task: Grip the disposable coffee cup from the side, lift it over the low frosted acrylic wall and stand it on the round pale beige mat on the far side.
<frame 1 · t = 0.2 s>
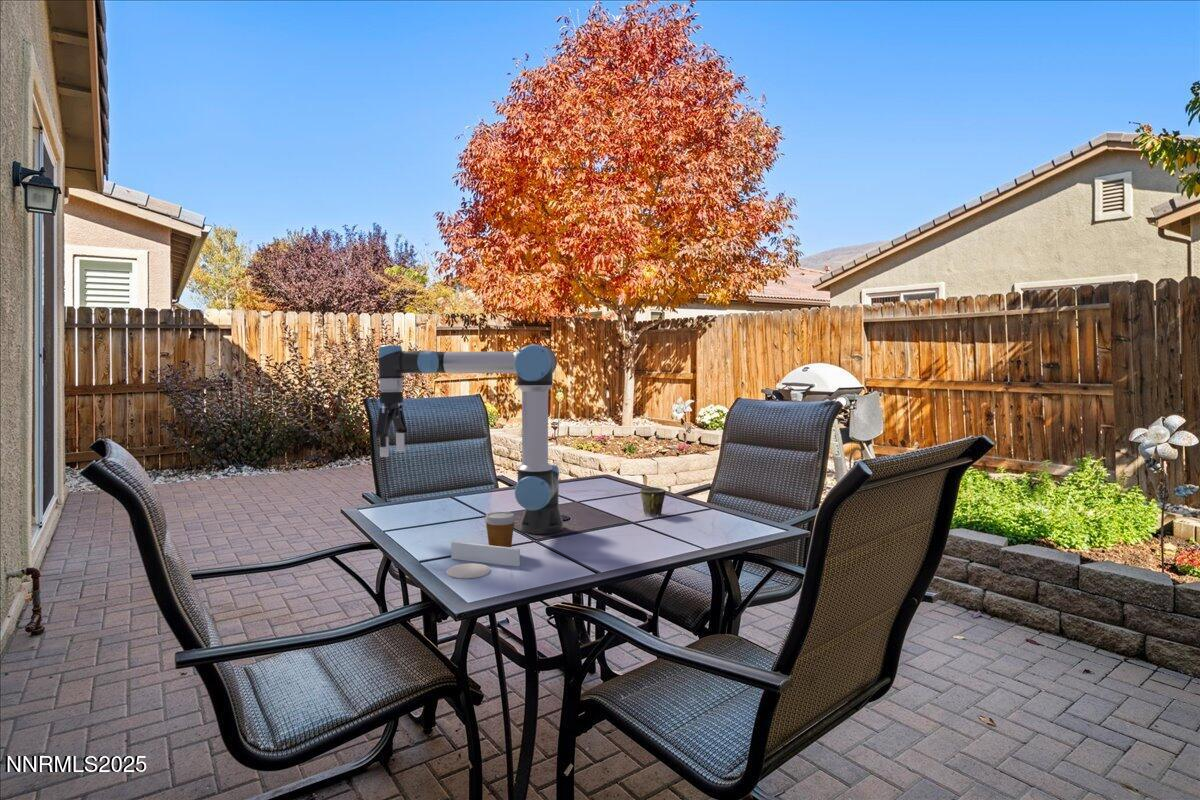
hand: (392, 454, 220), 28 cm above the table, fingers open, 13 cm apart
disposable coffee cup: (500, 554, 201), on the table
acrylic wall: (485, 562, 192), on the table
ceramic cup: (652, 516, 253), on the table
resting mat: (468, 571, 183), on the table
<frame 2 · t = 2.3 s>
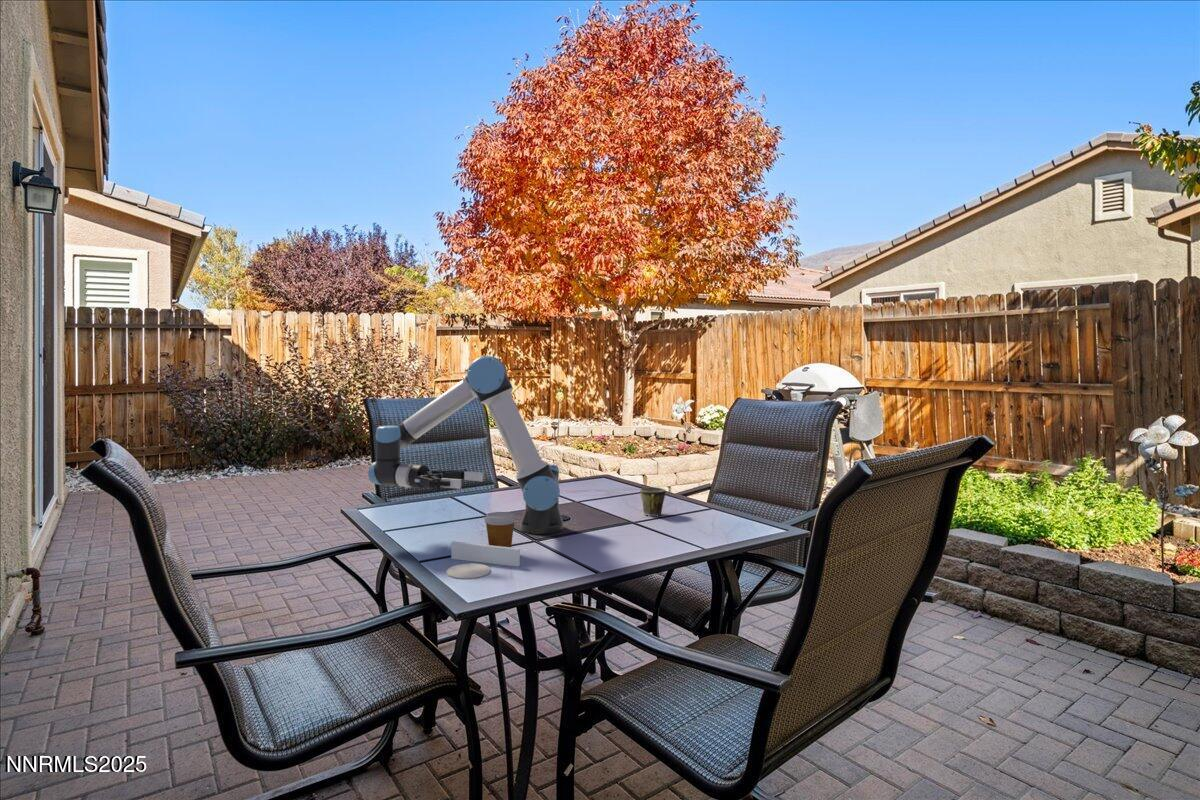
hand: (472, 480, 203), 22 cm above the table, fingers open, 13 cm apart
nothing on the table moved.
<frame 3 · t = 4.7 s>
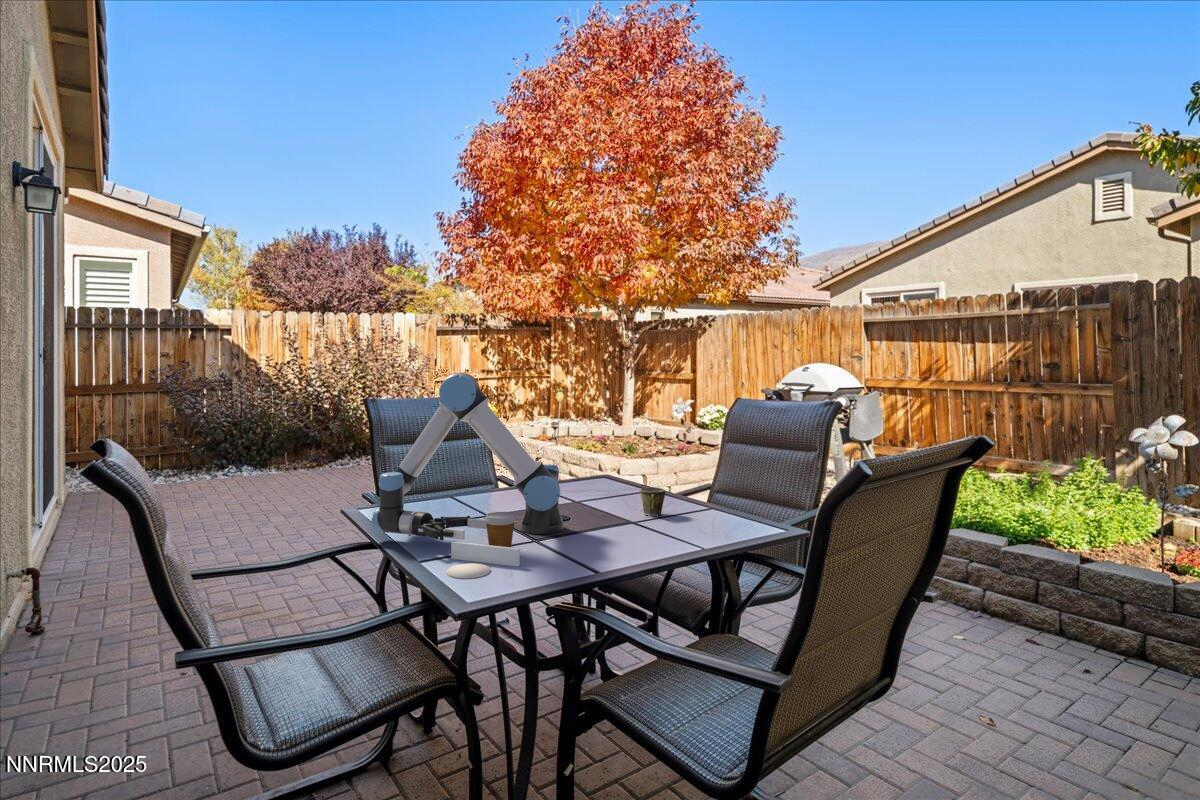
hand: (475, 529, 204), 7 cm above the table, fingers open, 13 cm apart
nothing on the table moved.
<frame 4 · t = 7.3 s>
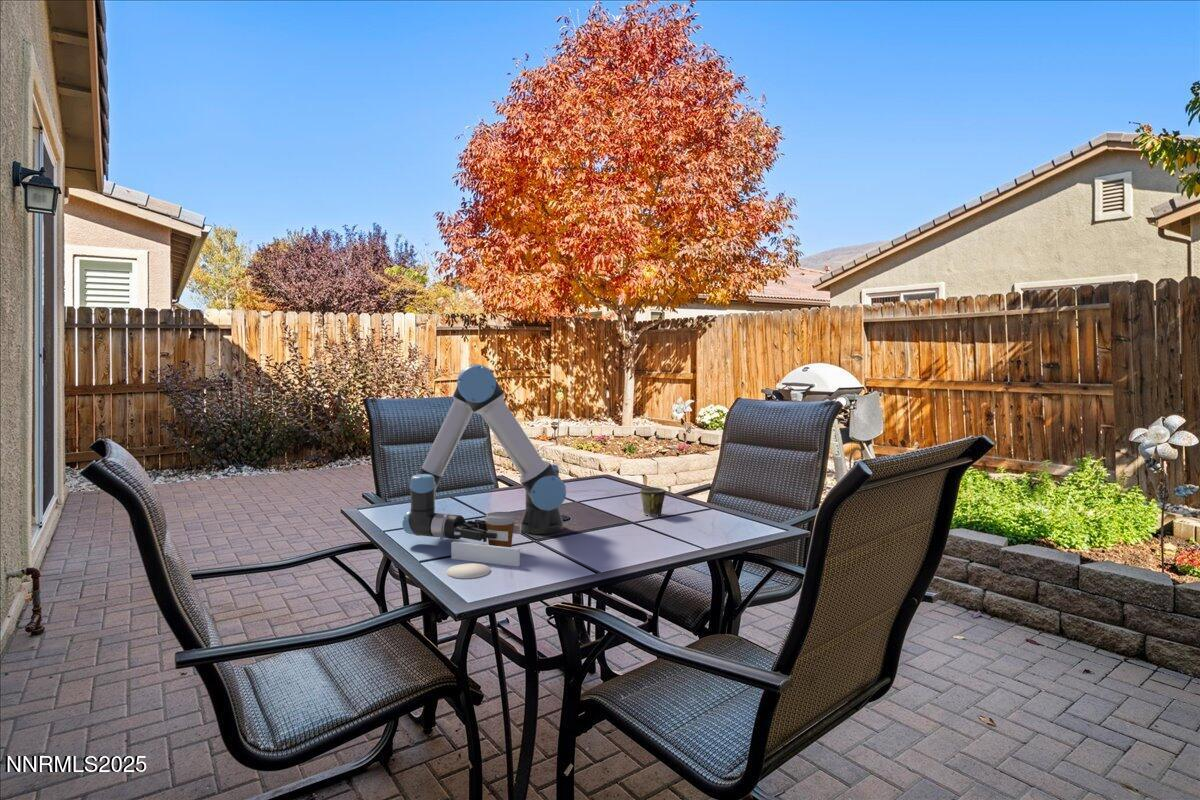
hand: (514, 532, 200), 7 cm above the table, fingers closed on disposable coffee cup, 8 cm apart
disposable coffee cup: (500, 553, 201), on the table, touching gripper
everything else where it was.
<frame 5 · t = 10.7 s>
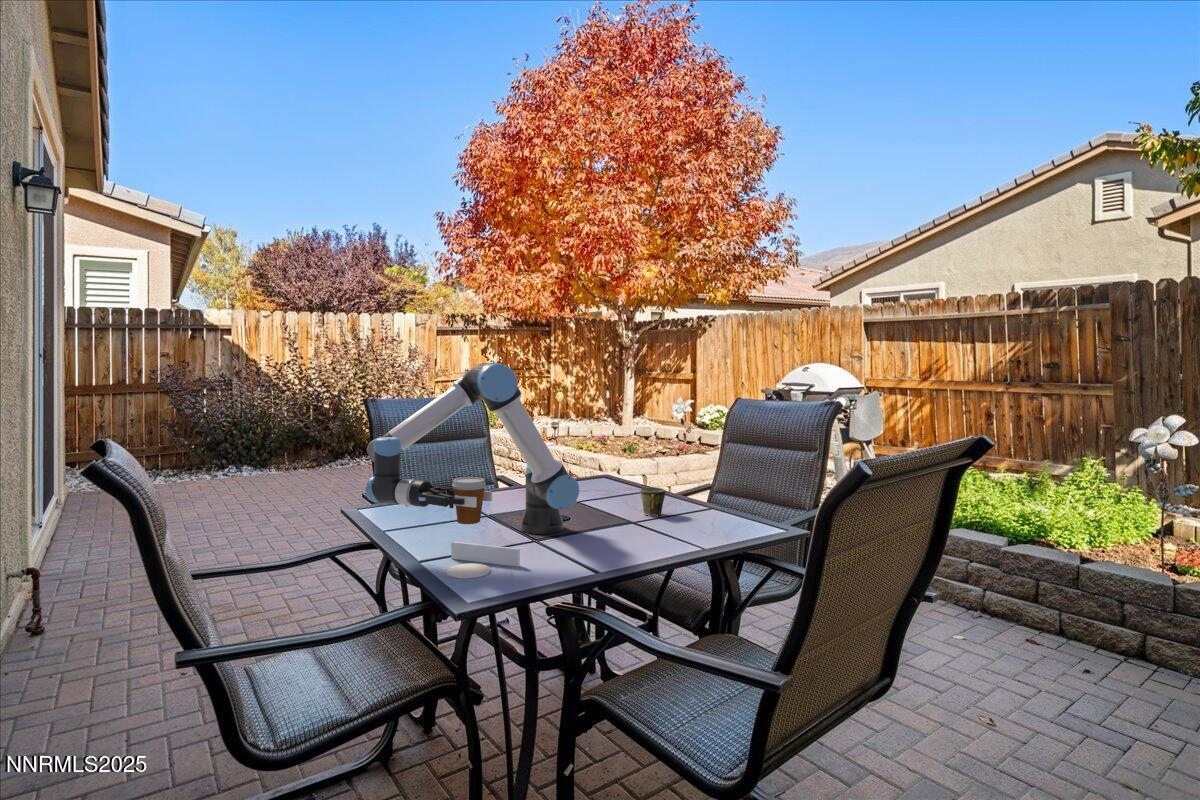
hand: (483, 499, 183), 20 cm above the table, fingers closed on disposable coffee cup, 8 cm apart
disposable coffee cup: (468, 522, 185), point 13 cm above the table, touching gripper
everything else where it was.
when the fingers open (9 cm above the table, at t = 14.2 s): disposable coffee cup drops 1 cm, resting on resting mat.
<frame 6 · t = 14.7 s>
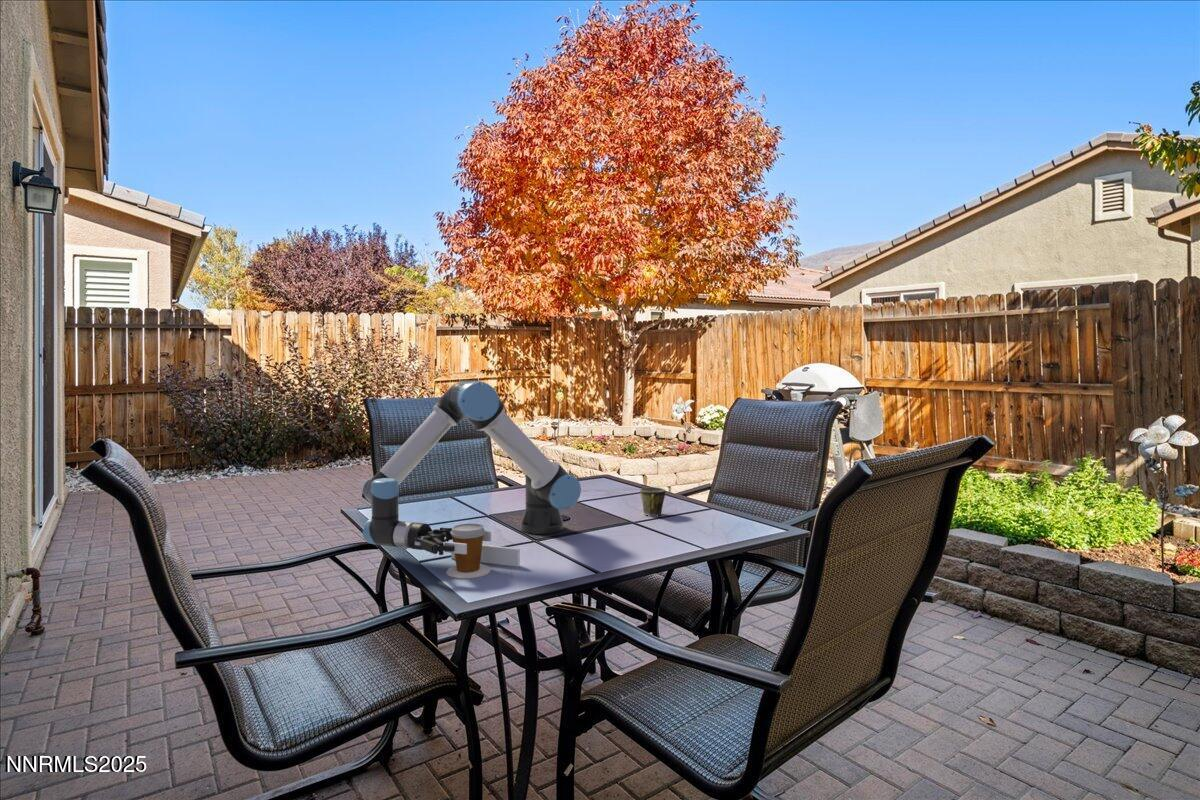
hand: (478, 542, 182), 9 cm above the table, fingers open, 13 cm apart
disposable coffee cup: (468, 569, 184), resting on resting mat
everything else where it was.
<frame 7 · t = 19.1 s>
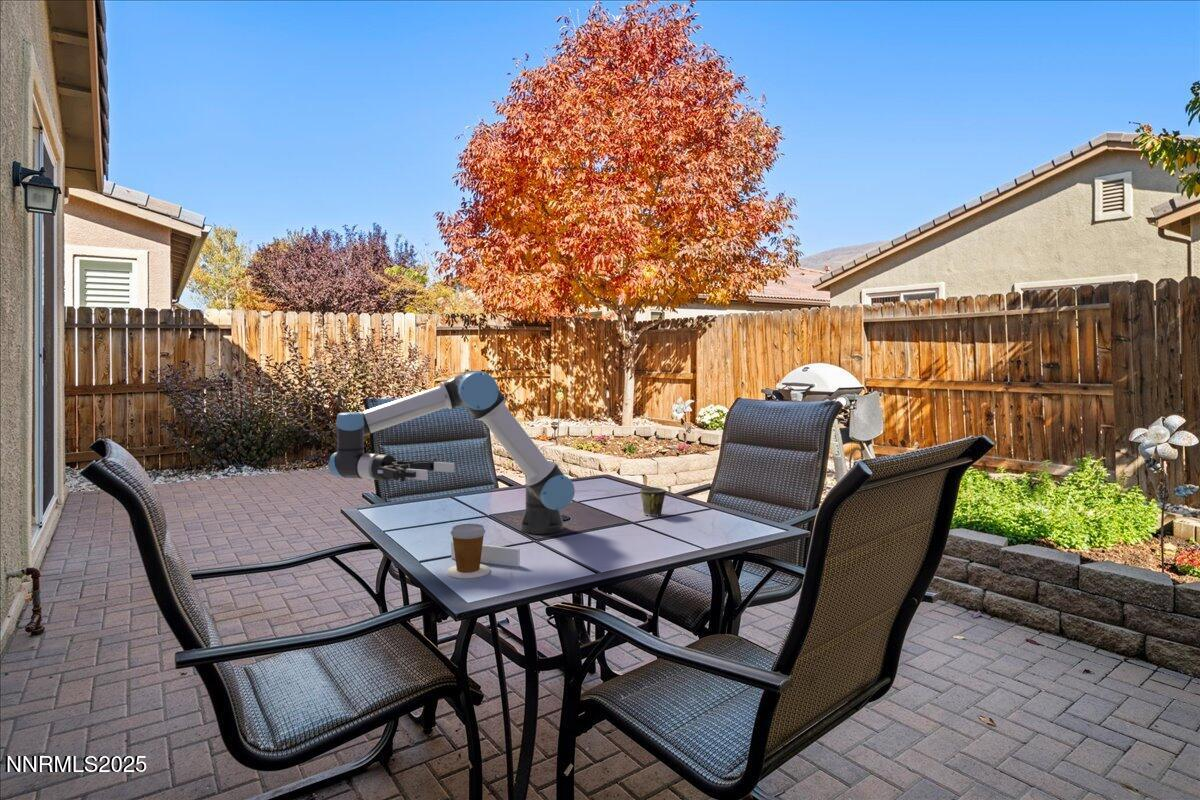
hand: (441, 471, 185), 28 cm above the table, fingers open, 13 cm apart
nothing on the table moved.
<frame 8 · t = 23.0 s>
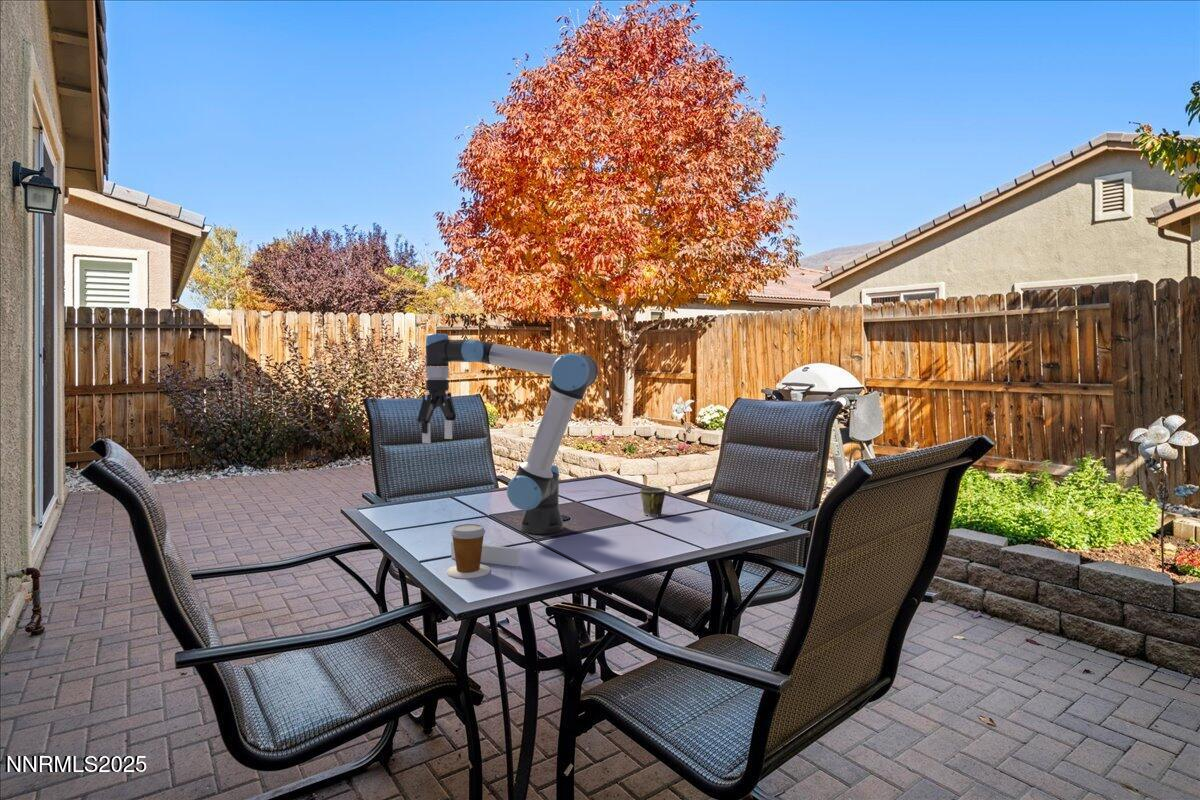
hand: (437, 440, 225), 32 cm above the table, fingers open, 13 cm apart
nothing on the table moved.
at the end: disposable coffee cup 0.5 cm from the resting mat (horizontally); disposable coffee cup tilted 0°; the gripper is holding nothing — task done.
